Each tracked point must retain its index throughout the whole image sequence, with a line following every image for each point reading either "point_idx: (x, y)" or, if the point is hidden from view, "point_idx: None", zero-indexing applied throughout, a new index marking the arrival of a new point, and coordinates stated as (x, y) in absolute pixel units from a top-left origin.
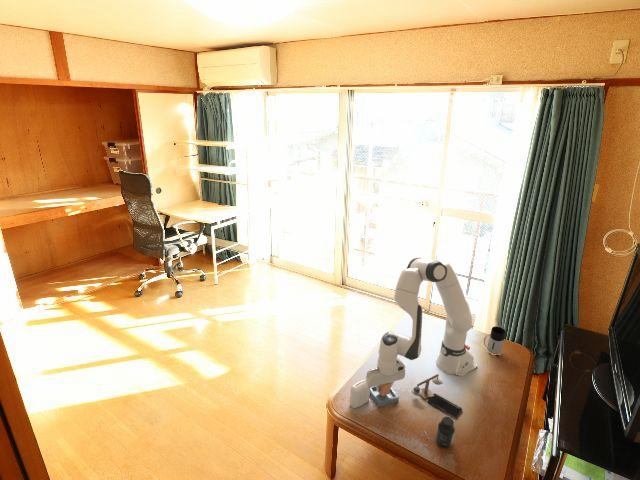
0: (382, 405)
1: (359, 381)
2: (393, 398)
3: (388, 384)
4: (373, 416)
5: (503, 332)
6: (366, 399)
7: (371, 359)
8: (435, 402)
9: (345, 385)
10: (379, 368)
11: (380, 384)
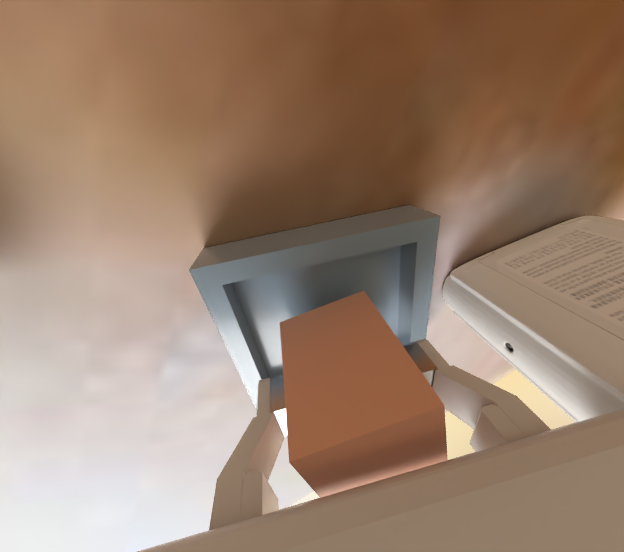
0: (375, 213)
1: None
2: (261, 259)
3: (340, 448)
4: (515, 93)
5: None
6: (508, 271)
7: (290, 499)
8: None
9: (491, 377)
10: None
11: (531, 457)
